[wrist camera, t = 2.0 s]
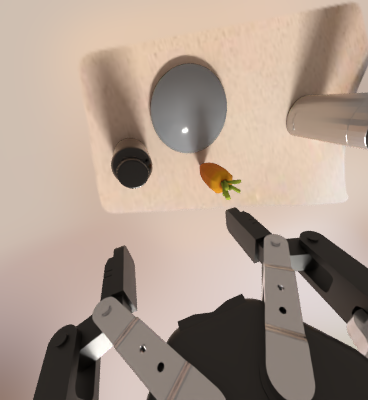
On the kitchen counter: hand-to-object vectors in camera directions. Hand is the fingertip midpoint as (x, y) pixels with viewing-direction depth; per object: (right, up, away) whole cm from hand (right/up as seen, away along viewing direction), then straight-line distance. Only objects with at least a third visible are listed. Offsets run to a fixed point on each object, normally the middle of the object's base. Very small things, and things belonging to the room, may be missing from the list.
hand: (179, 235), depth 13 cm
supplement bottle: (-11, +12, +23) cm, 28 cm away
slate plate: (+1, +21, +23) cm, 31 cm away
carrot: (+5, +11, +29) cm, 32 cm away
